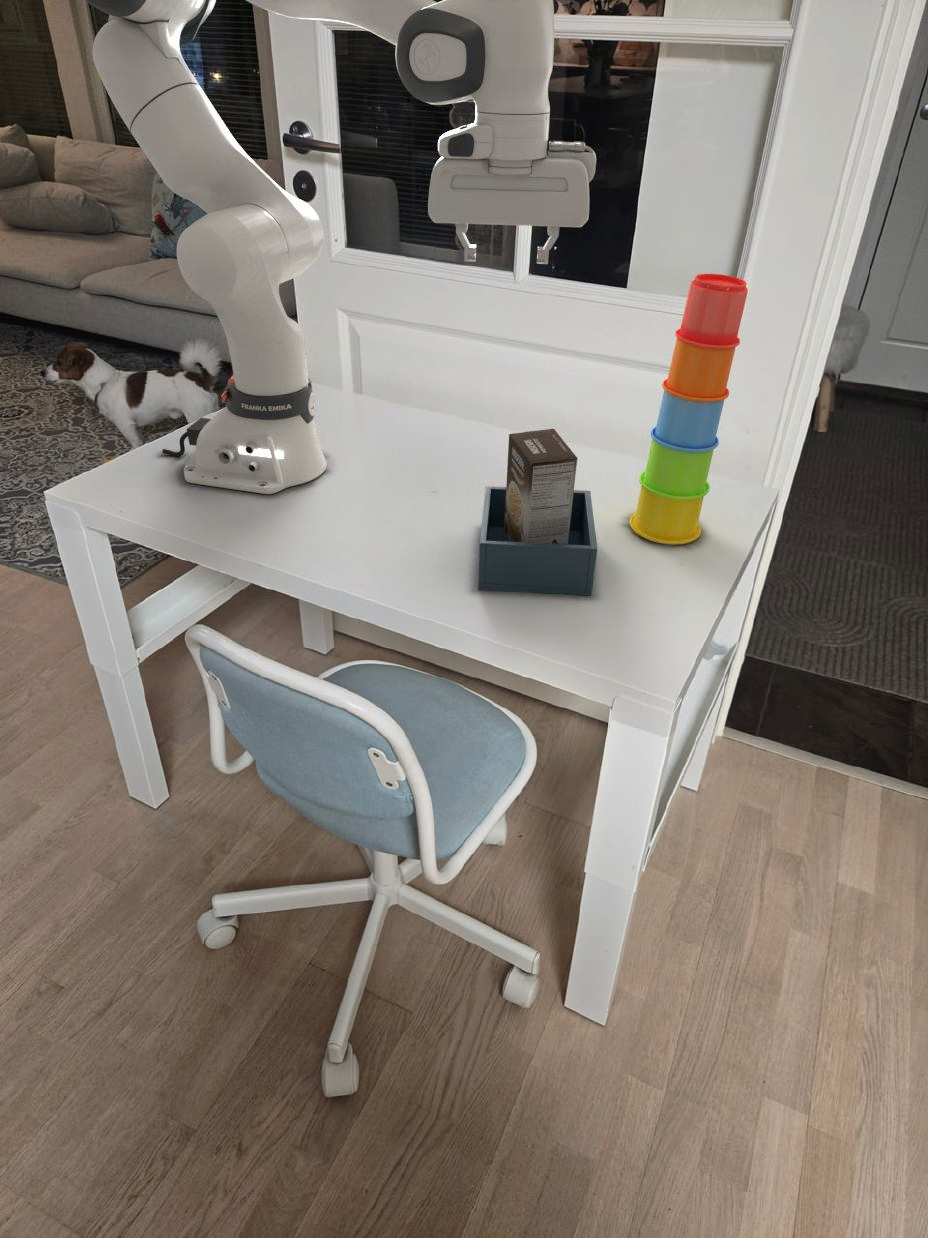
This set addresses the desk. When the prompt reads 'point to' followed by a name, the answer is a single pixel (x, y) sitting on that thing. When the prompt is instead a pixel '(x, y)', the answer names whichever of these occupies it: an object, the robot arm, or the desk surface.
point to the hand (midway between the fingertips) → (506, 261)
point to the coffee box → (539, 488)
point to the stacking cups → (690, 412)
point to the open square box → (537, 552)
